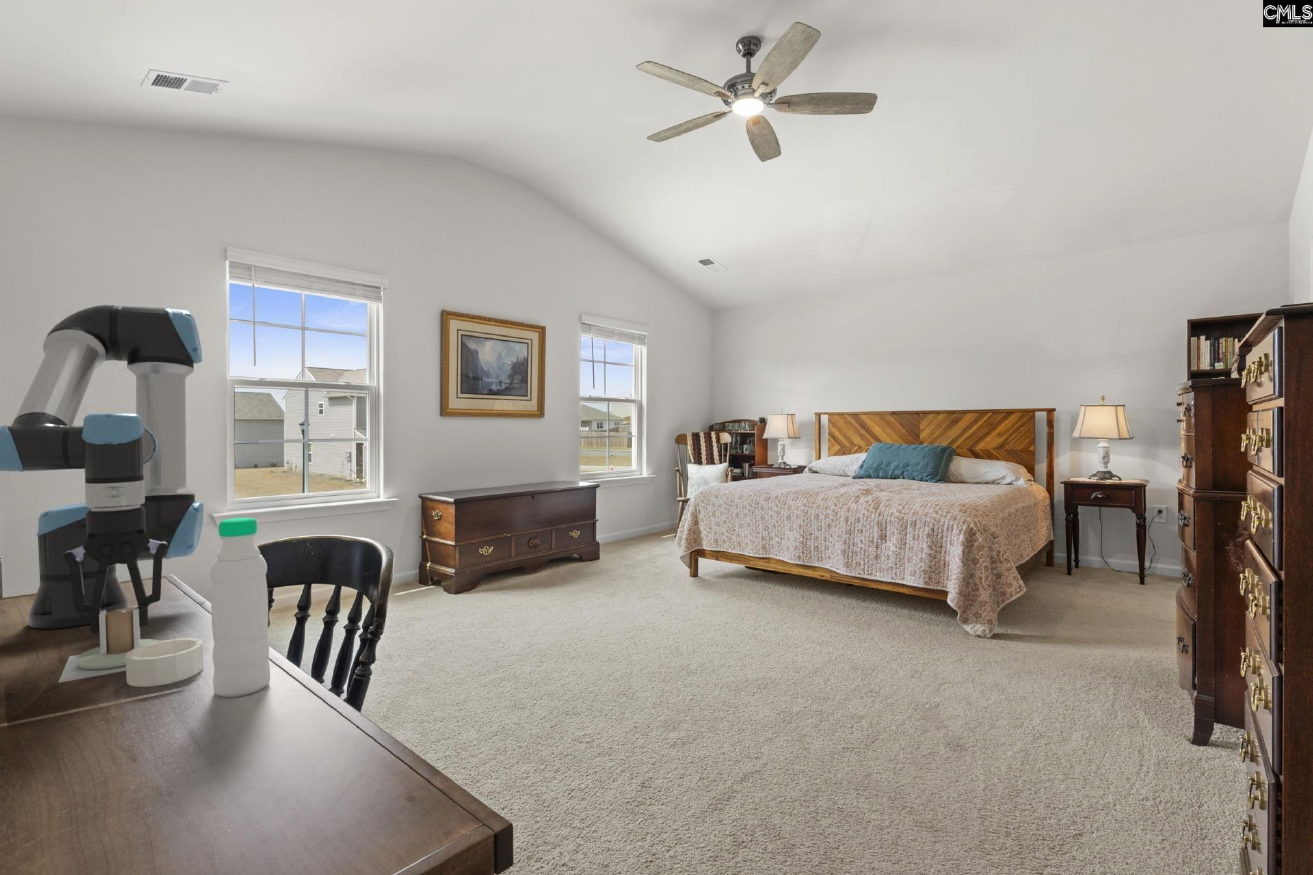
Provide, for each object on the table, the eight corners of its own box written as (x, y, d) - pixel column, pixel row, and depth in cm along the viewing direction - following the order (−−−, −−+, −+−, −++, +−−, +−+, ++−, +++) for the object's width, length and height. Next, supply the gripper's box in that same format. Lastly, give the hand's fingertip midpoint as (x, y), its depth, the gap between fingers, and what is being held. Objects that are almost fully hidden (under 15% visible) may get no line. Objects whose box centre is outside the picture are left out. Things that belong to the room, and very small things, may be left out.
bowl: (128, 674, 103) (127, 646, 103) (201, 660, 109) (201, 634, 109) (125, 694, 96) (124, 663, 95) (204, 678, 101) (203, 649, 101)
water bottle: (203, 693, 96) (198, 521, 95) (252, 676, 102) (247, 514, 101) (231, 702, 92) (226, 524, 92) (280, 684, 99) (276, 517, 98)
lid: (80, 654, 110) (78, 609, 110) (162, 640, 117) (161, 598, 117) (73, 674, 102) (71, 626, 101) (162, 658, 108) (161, 613, 108)
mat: (69, 658, 110) (69, 656, 110) (173, 641, 119) (173, 639, 119) (58, 684, 99) (58, 682, 99) (173, 663, 108) (173, 661, 108)
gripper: (43, 514, 100) (49, 667, 101) (178, 505, 110) (183, 644, 111) (50, 509, 106) (56, 653, 107) (178, 501, 116) (182, 632, 117)
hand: (120, 648), depth 109 cm, fingers closed on lid, 3 cm apart
